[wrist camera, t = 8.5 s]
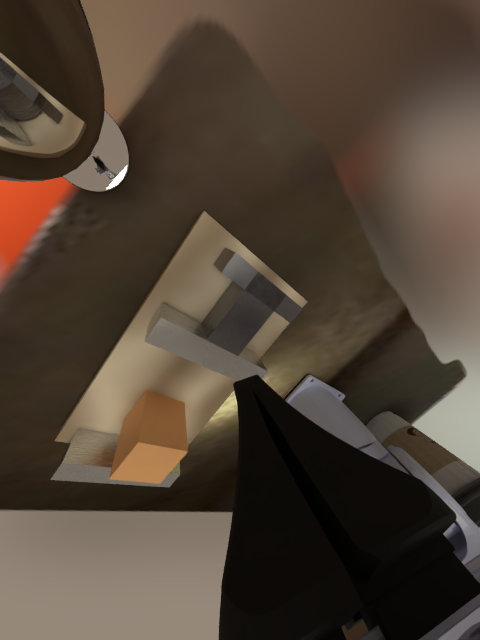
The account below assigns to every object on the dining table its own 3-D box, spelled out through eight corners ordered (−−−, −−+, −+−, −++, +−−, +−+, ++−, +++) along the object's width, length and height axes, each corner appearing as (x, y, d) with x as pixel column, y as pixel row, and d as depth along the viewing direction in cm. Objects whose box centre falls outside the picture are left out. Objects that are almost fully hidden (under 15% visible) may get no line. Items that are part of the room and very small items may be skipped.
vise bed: (298, 296, 20) (307, 301, 19) (176, 446, 25) (177, 458, 23) (201, 211, 15) (204, 210, 13) (62, 425, 19) (54, 440, 17)
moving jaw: (295, 305, 19) (313, 317, 16) (244, 368, 20) (253, 387, 18) (208, 233, 14) (216, 236, 11) (148, 322, 15) (144, 341, 13)
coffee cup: (411, 403, 39) (527, 491, 27) (378, 443, 43) (466, 538, 30) (377, 400, 35) (497, 505, 22) (343, 445, 38) (430, 558, 25)
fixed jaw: (179, 445, 22) (179, 474, 20) (169, 457, 23) (169, 487, 20) (78, 427, 18) (61, 462, 15) (67, 442, 18) (50, 479, 15)
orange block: (162, 429, 21) (159, 483, 16) (123, 420, 19) (108, 479, 14) (184, 402, 20) (188, 451, 16) (146, 389, 18) (138, 442, 14)
